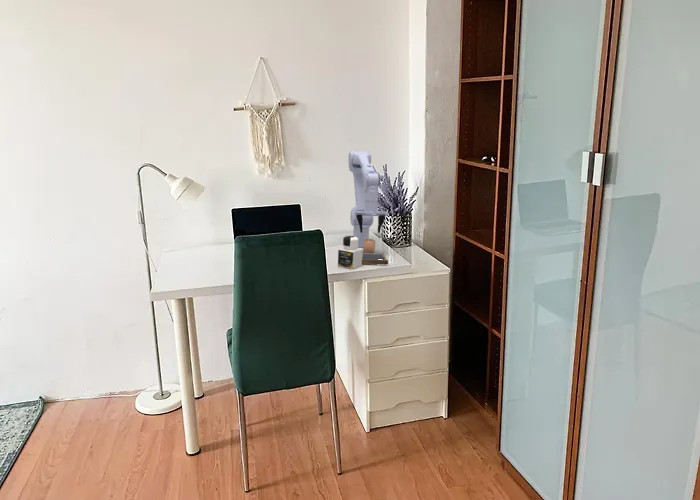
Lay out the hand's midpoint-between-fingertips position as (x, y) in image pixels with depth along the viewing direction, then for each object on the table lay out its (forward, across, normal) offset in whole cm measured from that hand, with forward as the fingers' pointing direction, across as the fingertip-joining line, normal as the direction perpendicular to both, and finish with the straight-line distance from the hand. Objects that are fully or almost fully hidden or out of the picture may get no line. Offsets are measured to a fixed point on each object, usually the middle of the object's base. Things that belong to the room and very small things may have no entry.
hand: (370, 232), depth 255 cm
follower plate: (+10, 0, -10) cm, 14 cm away
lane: (+10, 0, -11) cm, 15 cm away
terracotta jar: (+10, 0, +1) cm, 10 cm away
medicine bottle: (+11, -10, -20) cm, 25 cm away
